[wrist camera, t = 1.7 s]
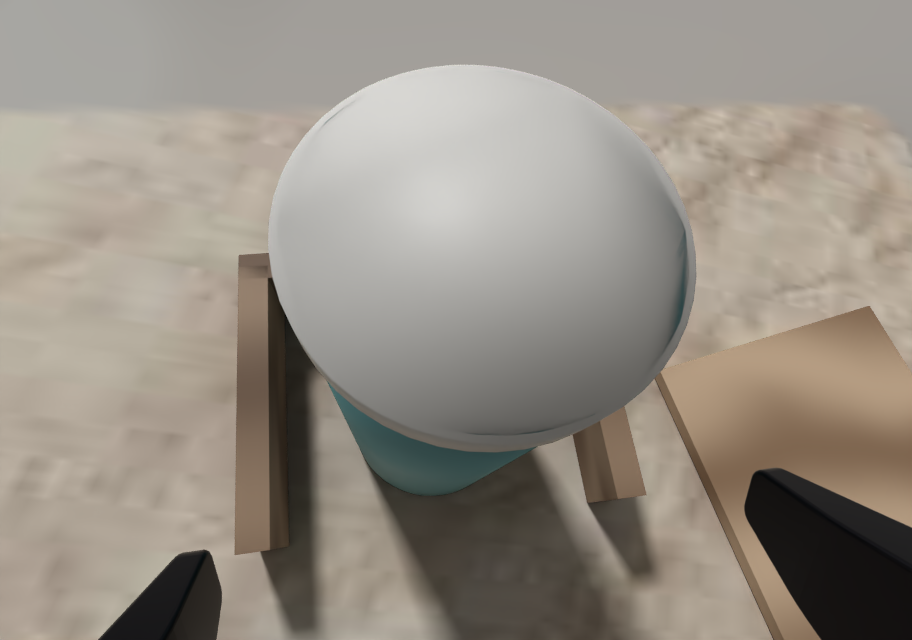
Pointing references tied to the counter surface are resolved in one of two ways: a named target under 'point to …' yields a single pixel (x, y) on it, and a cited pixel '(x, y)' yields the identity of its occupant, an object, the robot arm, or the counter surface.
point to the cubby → (265, 424)
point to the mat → (797, 431)
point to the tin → (478, 267)
